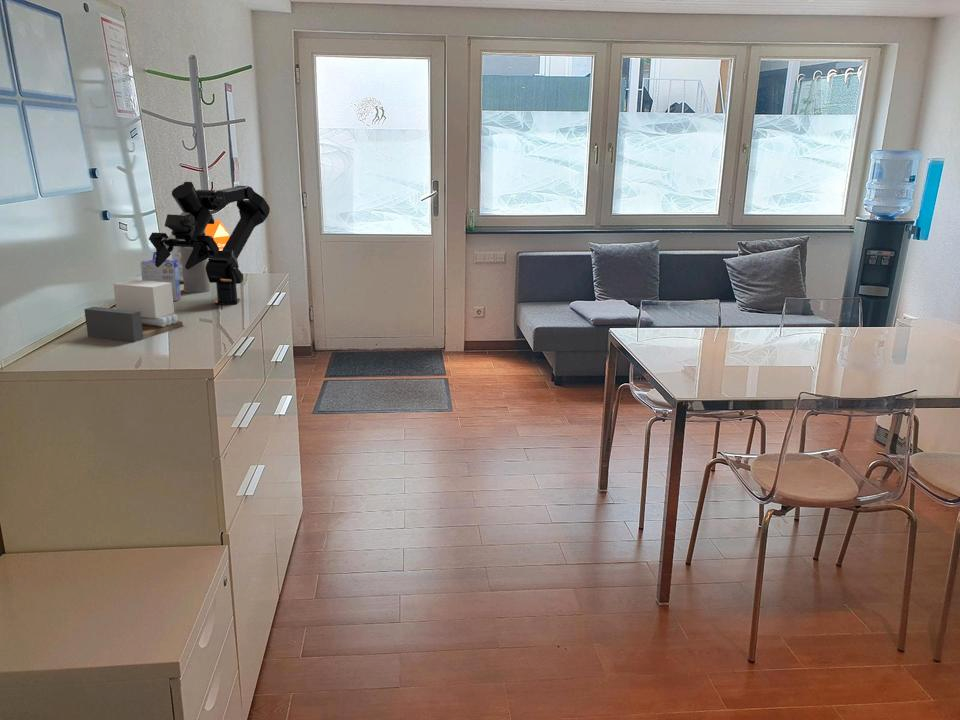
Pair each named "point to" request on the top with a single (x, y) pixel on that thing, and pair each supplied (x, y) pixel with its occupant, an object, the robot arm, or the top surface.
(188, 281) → the thermos bottle
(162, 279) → the ink cartridge box
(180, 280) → the plastic bottle
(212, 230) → the orange juice
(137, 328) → the block
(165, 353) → the top surface
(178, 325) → the brown wooden plank
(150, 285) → the white rectangular box
